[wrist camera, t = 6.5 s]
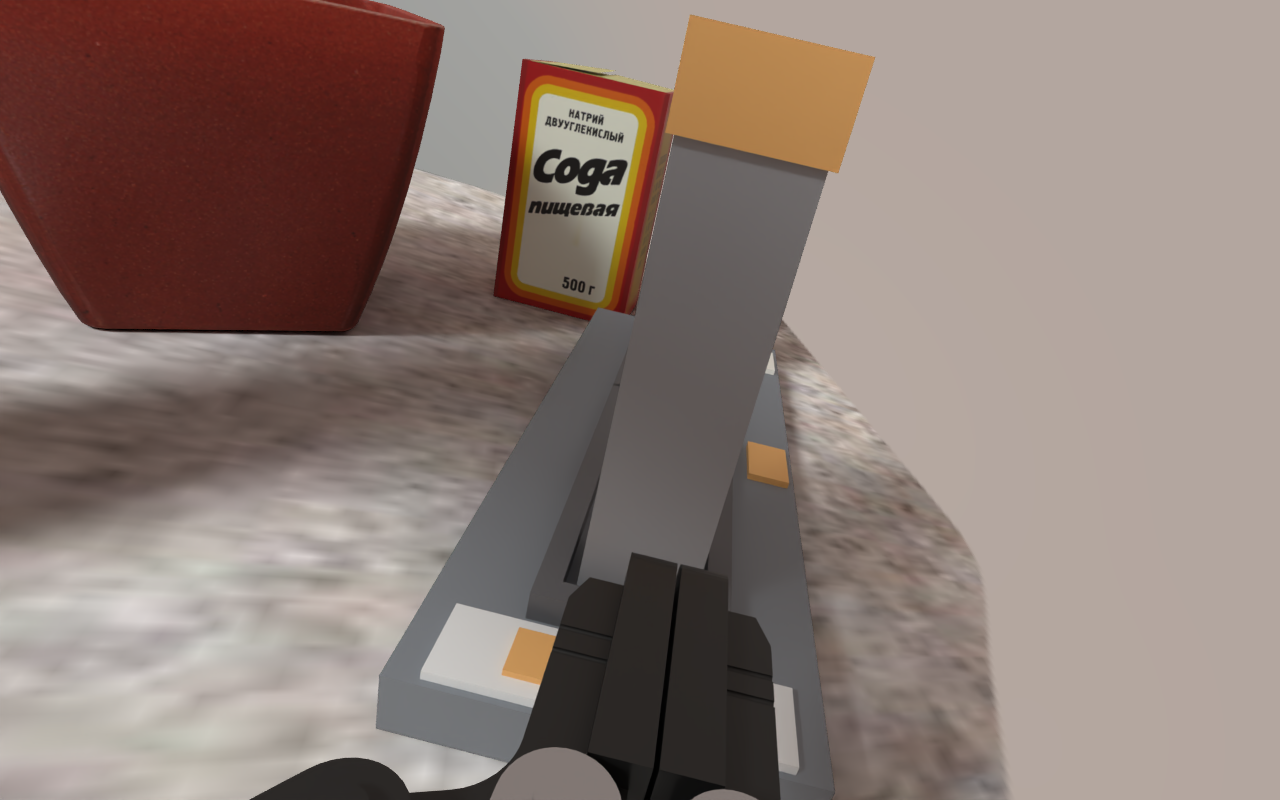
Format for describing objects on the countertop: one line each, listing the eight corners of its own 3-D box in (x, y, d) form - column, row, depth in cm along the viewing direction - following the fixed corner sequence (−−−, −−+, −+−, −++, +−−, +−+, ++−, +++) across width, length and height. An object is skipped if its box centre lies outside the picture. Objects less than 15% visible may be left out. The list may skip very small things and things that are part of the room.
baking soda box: (636, 303, 56) (683, 86, 49) (621, 329, 50) (671, 87, 43) (522, 273, 57) (552, 55, 50) (493, 295, 51) (523, 52, 44)
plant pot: (-37, 361, 30) (-142, -107, 23) (58, 230, 45) (11, -81, 38) (423, 362, 39) (450, 25, 32) (376, 252, 54) (388, 4, 47)
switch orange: (565, 601, 22) (690, 14, 15) (586, 537, 25) (698, 24, 18) (691, 633, 22) (875, 57, 15) (697, 564, 25) (851, 59, 18)
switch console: (376, 727, 19) (381, 646, 18) (592, 335, 48) (600, 293, 47) (810, 840, 19) (848, 766, 18) (766, 377, 48) (779, 336, 47)
